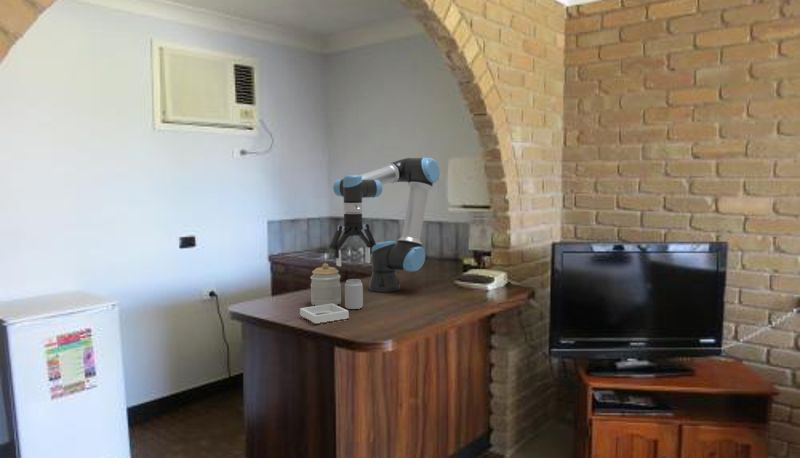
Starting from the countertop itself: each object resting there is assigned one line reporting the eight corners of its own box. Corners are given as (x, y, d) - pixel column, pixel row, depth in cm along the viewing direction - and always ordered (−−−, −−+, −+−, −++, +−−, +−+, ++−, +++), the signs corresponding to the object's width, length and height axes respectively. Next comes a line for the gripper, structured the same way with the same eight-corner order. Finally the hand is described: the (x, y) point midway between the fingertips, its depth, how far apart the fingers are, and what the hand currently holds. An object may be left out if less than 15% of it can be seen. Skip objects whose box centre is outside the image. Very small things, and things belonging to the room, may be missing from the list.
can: (360, 311, 221) (359, 282, 220) (342, 310, 223) (342, 281, 222) (365, 306, 229) (364, 278, 227) (347, 305, 230) (347, 277, 229)
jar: (346, 301, 238) (345, 261, 236) (333, 308, 226) (332, 266, 224) (319, 299, 242) (318, 260, 240) (305, 306, 230) (304, 264, 228)
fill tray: (300, 317, 213) (299, 308, 212) (332, 311, 220) (332, 303, 220) (315, 325, 201) (315, 316, 201) (348, 319, 209) (348, 310, 208)
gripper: (329, 215, 211) (330, 268, 214) (383, 212, 225) (383, 262, 228) (321, 213, 218) (322, 265, 220) (374, 211, 231) (374, 260, 234)
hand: (353, 264), depth 224 cm, fingers open, 13 cm apart
